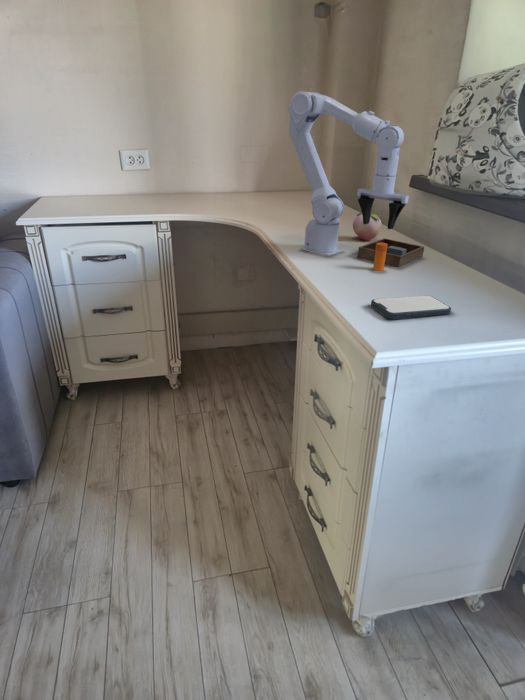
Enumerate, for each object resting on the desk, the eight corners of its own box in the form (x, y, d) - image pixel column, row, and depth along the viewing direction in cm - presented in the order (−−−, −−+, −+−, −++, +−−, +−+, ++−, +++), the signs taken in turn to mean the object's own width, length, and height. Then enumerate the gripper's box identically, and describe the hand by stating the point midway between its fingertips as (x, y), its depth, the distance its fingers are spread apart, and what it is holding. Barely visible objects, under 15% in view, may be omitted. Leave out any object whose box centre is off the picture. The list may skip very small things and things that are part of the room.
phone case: (428, 301, 115) (368, 305, 110) (429, 294, 114) (369, 298, 109) (452, 315, 107) (388, 321, 102) (454, 308, 106) (390, 314, 102)
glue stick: (370, 271, 133) (374, 243, 129) (375, 268, 135) (379, 241, 131) (380, 273, 131) (384, 246, 128) (385, 271, 133) (389, 243, 130)
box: (357, 258, 143) (358, 247, 141) (382, 249, 153) (384, 238, 152) (398, 269, 135) (400, 256, 134) (422, 258, 146) (424, 246, 144)
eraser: (386, 253, 147) (387, 247, 146) (390, 252, 149) (391, 245, 148) (401, 257, 144) (402, 250, 143) (405, 255, 146) (406, 249, 145)
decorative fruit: (384, 241, 162) (389, 211, 157) (371, 246, 156) (375, 214, 152) (360, 236, 167) (364, 206, 163) (346, 240, 162) (350, 209, 157)
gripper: (417, 177, 130) (408, 228, 136) (368, 170, 138) (362, 219, 144) (405, 179, 125) (396, 232, 131) (355, 172, 133) (350, 223, 139)
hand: (378, 226), depth 137 cm, fingers open, 7 cm apart
